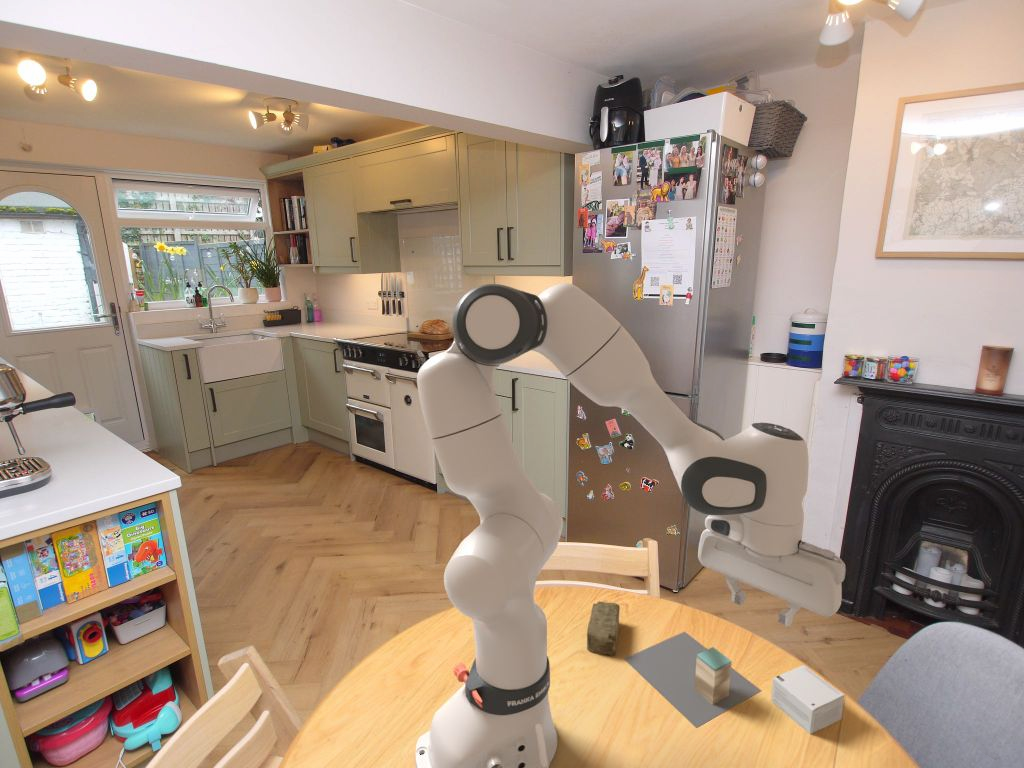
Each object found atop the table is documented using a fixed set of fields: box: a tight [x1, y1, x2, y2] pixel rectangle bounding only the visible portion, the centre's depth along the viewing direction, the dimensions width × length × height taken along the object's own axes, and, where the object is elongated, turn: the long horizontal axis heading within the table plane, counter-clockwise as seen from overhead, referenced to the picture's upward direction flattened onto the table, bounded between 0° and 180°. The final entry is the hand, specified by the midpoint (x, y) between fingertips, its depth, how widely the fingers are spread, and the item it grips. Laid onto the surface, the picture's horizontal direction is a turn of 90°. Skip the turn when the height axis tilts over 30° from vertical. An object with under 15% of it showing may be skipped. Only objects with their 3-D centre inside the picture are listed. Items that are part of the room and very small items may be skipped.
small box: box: [770, 664, 845, 735], centre depth 89 cm, size 8×8×5 cm
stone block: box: [586, 601, 620, 656], centre depth 108 cm, size 6×12×5 cm, turn 165°
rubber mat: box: [623, 631, 762, 729], centre depth 97 cm, size 16×18×1 cm
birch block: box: [695, 646, 732, 705], centre depth 92 cm, size 4×4×7 cm
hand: (761, 612), depth 82 cm, fingers open, 6 cm apart
